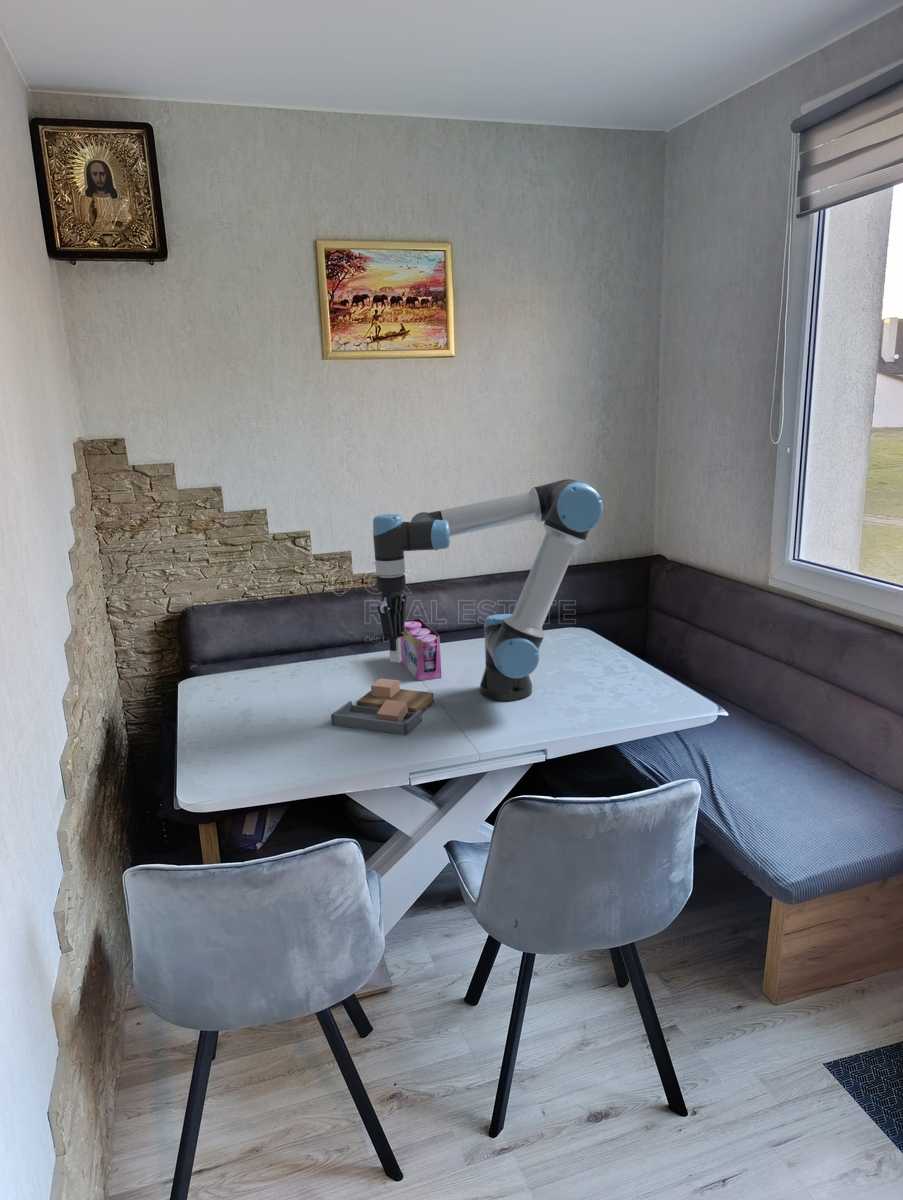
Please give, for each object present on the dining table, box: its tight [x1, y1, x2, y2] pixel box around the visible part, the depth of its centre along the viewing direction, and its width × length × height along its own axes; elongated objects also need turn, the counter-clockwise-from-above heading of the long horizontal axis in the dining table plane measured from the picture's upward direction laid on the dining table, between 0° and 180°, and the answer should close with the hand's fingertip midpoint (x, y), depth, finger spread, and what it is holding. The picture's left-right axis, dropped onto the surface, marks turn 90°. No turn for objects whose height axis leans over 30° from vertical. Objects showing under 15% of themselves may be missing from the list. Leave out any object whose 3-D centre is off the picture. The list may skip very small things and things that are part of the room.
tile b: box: [370, 678, 401, 698], centre depth 218 cm, size 6×6×3 cm
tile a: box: [377, 700, 408, 722], centre depth 205 cm, size 6×6×3 cm
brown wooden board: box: [356, 688, 435, 714], centre depth 216 cm, size 18×12×3 cm, turn 68°
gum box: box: [400, 618, 443, 682], centre depth 245 cm, size 24×8×14 cm, turn 19°
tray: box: [330, 700, 423, 736], centre depth 205 cm, size 22×10×3 cm, turn 68°
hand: (395, 661), depth 205 cm, fingers closed
